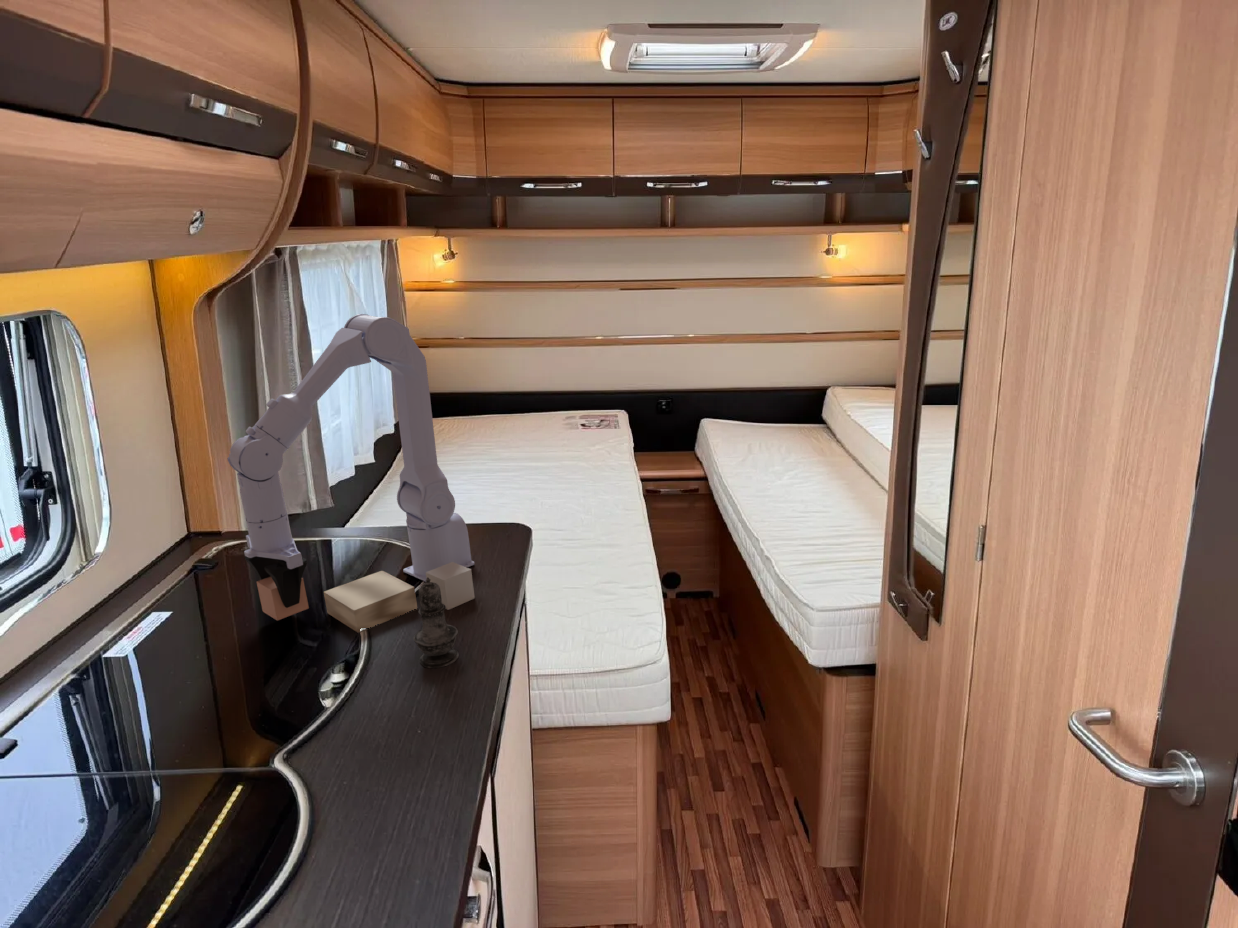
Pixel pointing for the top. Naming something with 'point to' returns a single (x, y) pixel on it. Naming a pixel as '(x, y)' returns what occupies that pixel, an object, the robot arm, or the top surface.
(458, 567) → the grey cube
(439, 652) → the dark tall tiered piece
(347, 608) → the birch block
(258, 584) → the terracotta cube
